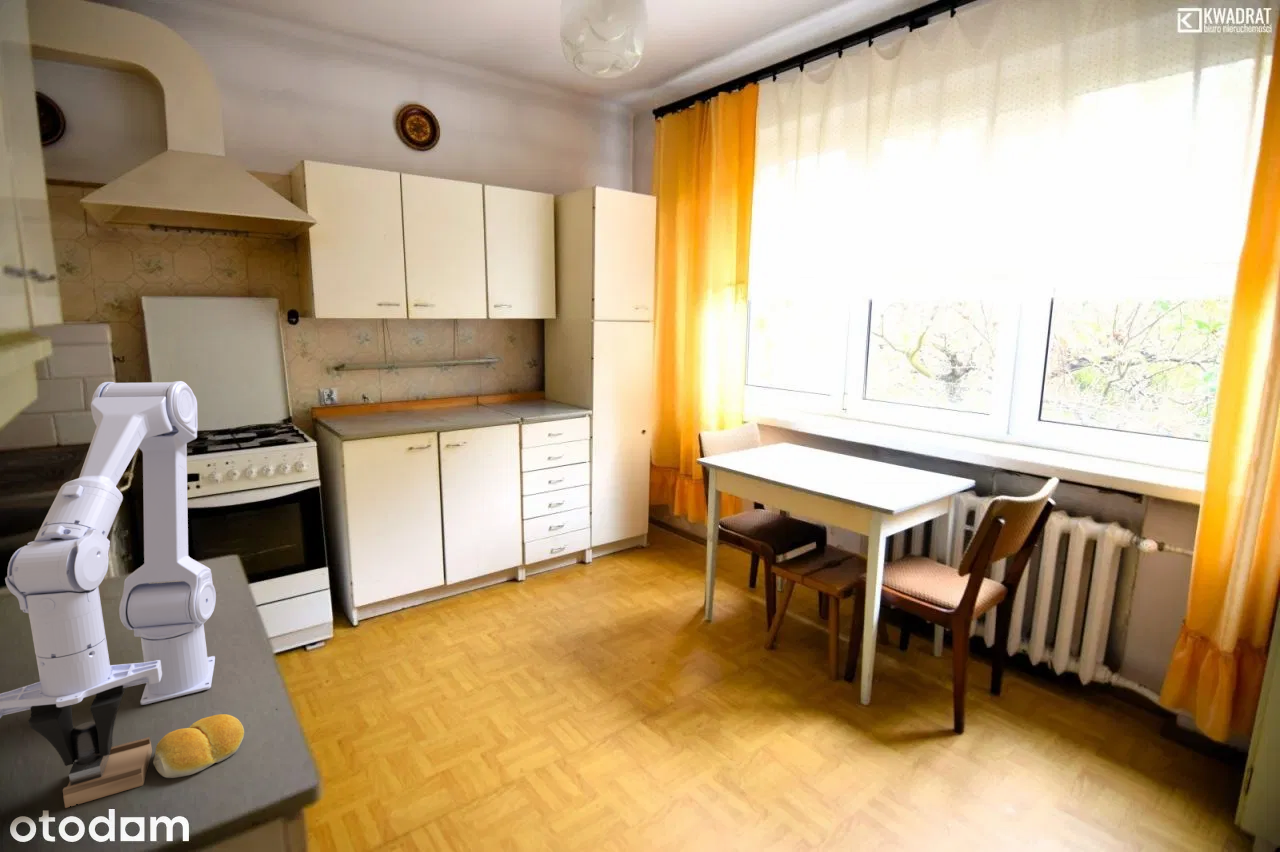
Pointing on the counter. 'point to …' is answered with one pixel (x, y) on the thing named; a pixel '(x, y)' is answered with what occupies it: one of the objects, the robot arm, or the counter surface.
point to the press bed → (114, 773)
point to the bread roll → (198, 746)
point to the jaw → (86, 754)
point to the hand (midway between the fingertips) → (89, 755)
